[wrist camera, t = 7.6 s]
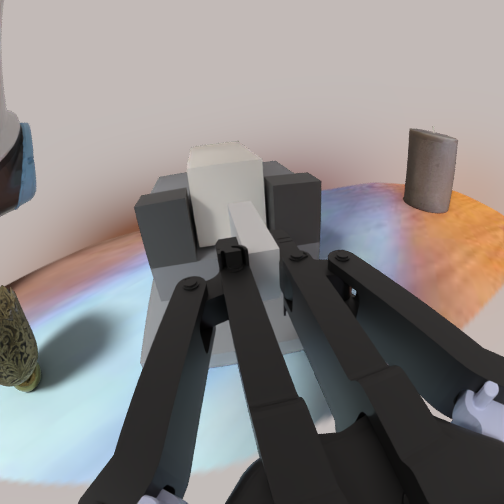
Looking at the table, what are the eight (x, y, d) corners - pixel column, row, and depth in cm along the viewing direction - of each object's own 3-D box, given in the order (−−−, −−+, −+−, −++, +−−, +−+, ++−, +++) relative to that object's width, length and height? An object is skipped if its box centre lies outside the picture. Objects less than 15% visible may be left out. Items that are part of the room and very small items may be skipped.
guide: (360, 334, 20) (384, 211, 15) (147, 374, 18) (90, 255, 13) (281, 219, 41) (278, 149, 36) (166, 236, 39) (152, 166, 34)
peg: (266, 237, 25) (262, 159, 21) (199, 247, 24) (186, 168, 21) (242, 192, 37) (237, 141, 33) (198, 198, 36) (190, 147, 33)
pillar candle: (395, 201, 45) (401, 121, 38) (413, 191, 50) (419, 122, 43) (441, 218, 39) (453, 132, 31) (453, 205, 43) (462, 132, 36)
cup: (54, 341, 21) (16, 274, 17) (67, 393, 16) (12, 320, 12) (3, 367, 17) (-39, 305, 13) (8, 422, 12) (-53, 357, 8)
